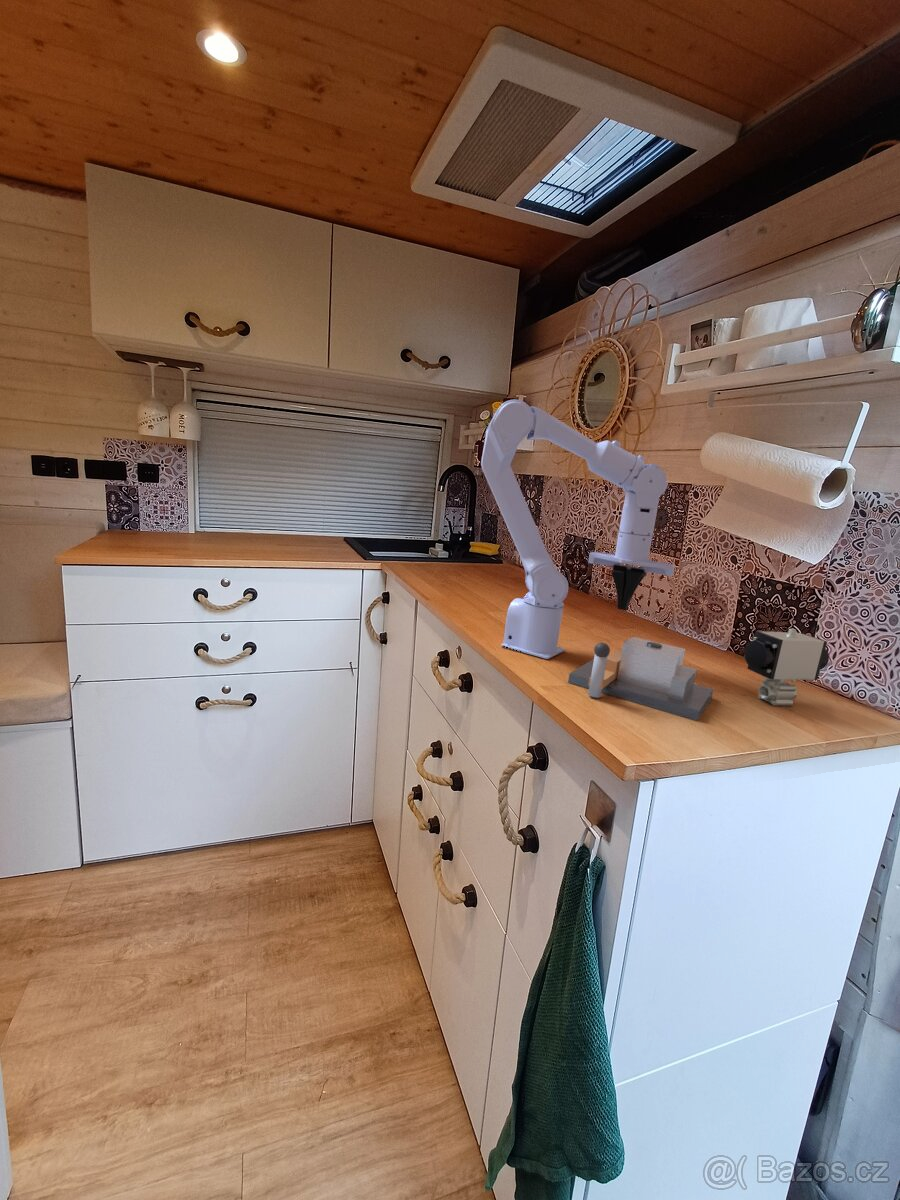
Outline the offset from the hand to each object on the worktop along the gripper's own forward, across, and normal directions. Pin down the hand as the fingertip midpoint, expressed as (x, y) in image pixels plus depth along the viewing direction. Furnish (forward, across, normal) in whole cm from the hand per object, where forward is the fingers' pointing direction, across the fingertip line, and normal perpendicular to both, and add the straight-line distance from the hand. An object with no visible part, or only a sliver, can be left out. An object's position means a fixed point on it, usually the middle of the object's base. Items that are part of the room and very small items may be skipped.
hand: (622, 608), depth 101 cm
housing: (+8, +8, -15) cm, 19 cm away
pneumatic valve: (+10, +26, -3) cm, 28 cm away
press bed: (+9, +8, -14) cm, 19 cm away
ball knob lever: (+9, +3, -17) cm, 20 cm away
